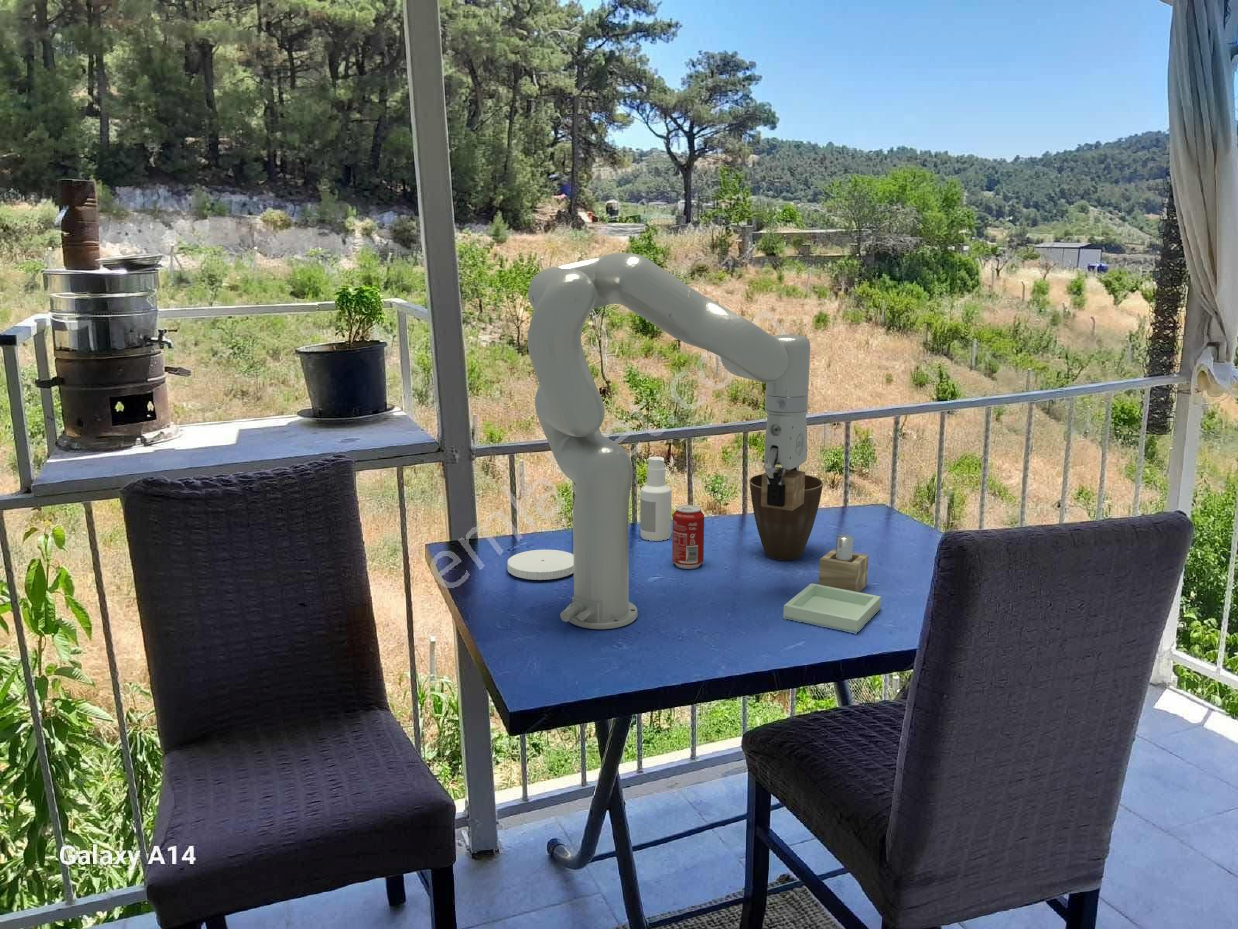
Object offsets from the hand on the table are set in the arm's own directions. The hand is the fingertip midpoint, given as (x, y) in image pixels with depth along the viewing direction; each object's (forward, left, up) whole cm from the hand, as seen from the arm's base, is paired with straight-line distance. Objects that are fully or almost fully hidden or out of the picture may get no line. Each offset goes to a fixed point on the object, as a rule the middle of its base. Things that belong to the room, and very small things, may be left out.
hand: (782, 500), depth 174 cm
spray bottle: (+17, +36, -18) cm, 44 cm away
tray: (-6, -13, -17) cm, 22 cm away
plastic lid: (-14, +44, -18) cm, 50 cm away
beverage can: (+4, +21, -18) cm, 28 cm away
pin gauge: (+8, -10, -17) cm, 21 cm away
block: (0, 0, -1) cm, 1 cm away
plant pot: (+20, +7, -18) cm, 28 cm away
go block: (+8, -10, -17) cm, 21 cm away
